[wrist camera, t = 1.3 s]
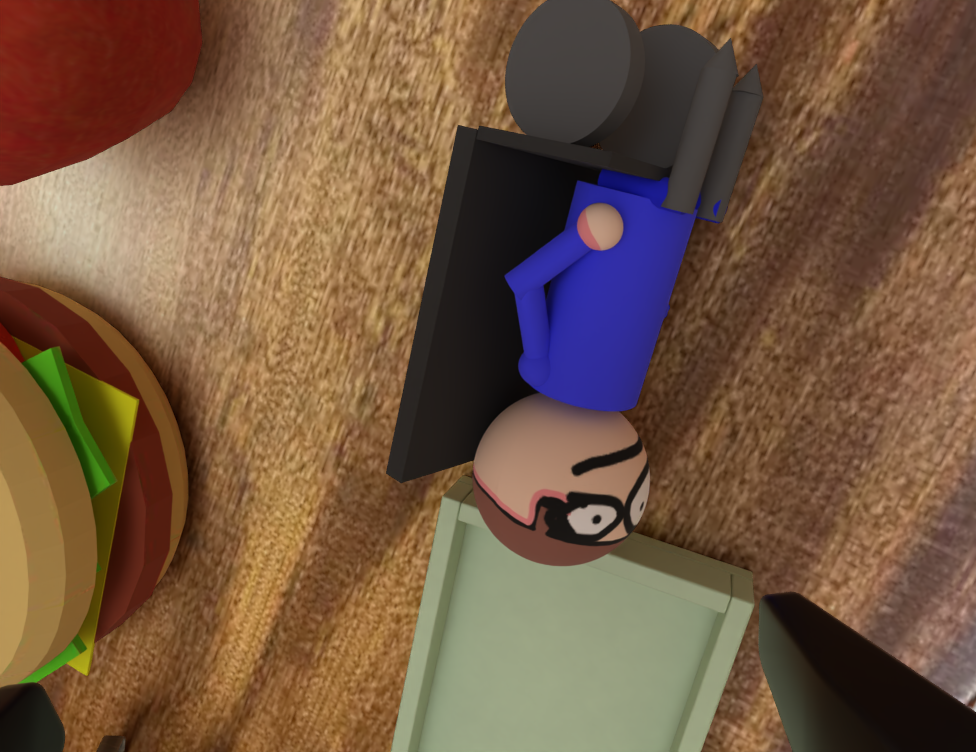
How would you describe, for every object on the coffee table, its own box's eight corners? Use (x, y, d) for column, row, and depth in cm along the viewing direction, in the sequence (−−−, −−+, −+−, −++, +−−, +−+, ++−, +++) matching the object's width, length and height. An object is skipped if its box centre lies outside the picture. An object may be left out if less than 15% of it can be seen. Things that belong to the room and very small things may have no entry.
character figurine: (788, 67, 20) (626, 518, 25) (545, 11, 21) (434, 451, 26) (857, -2, 13) (608, 659, 17) (478, -83, 14) (340, 557, 18)
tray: (752, 571, 23) (755, 604, 21) (619, 941, 28) (611, 995, 26) (462, 474, 26) (442, 495, 24) (388, 829, 31) (365, 871, 29)
